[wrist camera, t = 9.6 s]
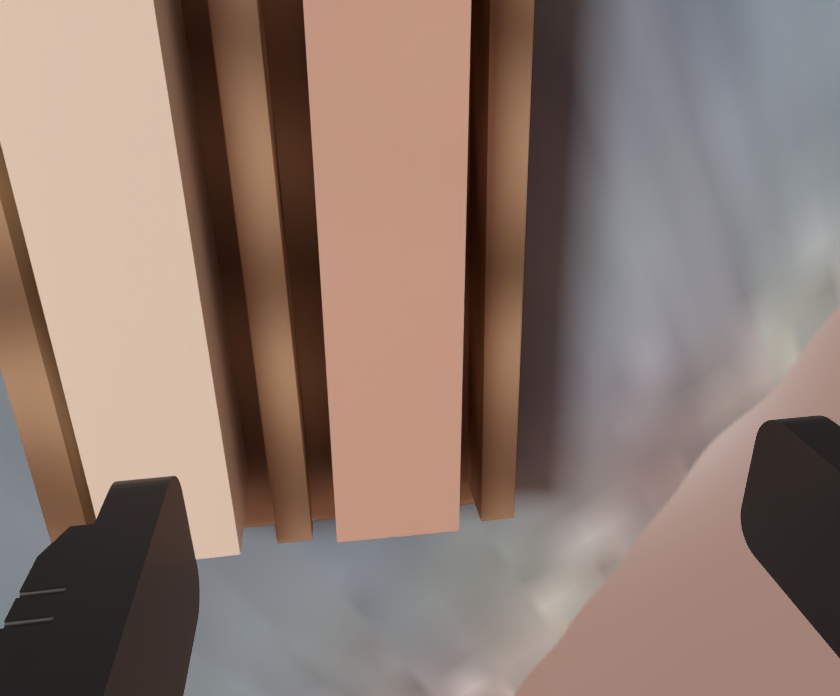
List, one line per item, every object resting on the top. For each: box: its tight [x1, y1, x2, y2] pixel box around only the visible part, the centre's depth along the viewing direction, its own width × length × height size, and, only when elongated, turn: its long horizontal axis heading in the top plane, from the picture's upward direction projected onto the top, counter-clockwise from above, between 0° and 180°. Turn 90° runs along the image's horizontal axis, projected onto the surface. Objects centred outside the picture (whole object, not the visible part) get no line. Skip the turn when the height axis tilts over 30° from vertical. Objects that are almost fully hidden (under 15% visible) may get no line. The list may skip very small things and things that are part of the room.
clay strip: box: [303, 0, 471, 542], centre depth 21 cm, size 18×4×4 cm, turn 0°
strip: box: [0, 0, 250, 559], centre depth 20 cm, size 18×4×4 cm, turn 1°
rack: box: [0, 0, 535, 544], centre depth 22 cm, size 22×16×4 cm
